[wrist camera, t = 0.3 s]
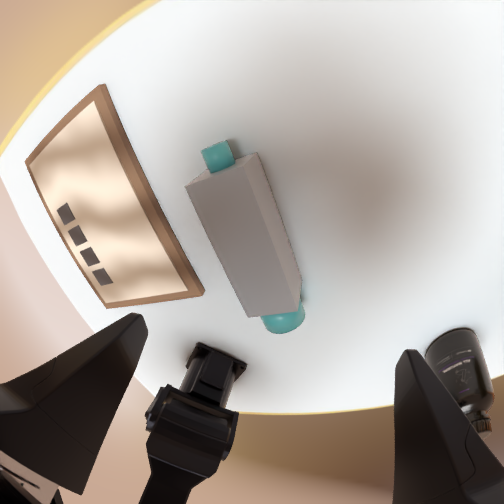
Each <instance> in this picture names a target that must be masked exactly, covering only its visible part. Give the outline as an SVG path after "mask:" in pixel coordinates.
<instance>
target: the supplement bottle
mask: <svg viewBox="0 0 504 504" xmlns="http://www.w3.org/2000/svg"><path fill="white" fill-rule="evenodd" d="M425 361H426V362H427V363H428V365H429V366H430V367H431V369H432V370H433V371H434V373H435V374H436V375H437V376H438V378H439V379H440V380H441V382H442V383H443V384H444V386H445V387H446V389H447V390H448V391H449V393H450V394H451V395H452V397H453V398H454V400H455V401H456V402H457V404H458V405H459V407H460V408H461V409H462V411H463V412H464V414H465V415H466V417H467V418H468V420H469V421H470V423H471V424H472V425H473V427H474V428H475V430H476V431H477V433H478V434H479V436H480V437H481V439H482V440H483V439H485V438H486V437H488V436H489V435H490V434H491V432H492V429H491V423H490V420H491V419H490V416H489V415H488V414H487V412H488V411H489V410H490V408H491V407H492V405H493V402H494V396H495V395H494V390H493V386H492V382H491V379H490V375H489V372H488V368H487V365H486V362H485V359H484V355H483V352H482V349H481V347H480V344H479V341H478V338H477V336H476V335H475V333H474V332H472V331H470V330H467V329H459V330H454V331H451V332H449V333H446V334H445V335H443V336H441V337H440V338H438V339H437V340H436V341H435V342H434V343H433V344H432V345H431V346H430V347H429V349H428V351H427V353H426V358H425Z"/></svg>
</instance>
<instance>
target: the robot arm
mask: <svg viewBox="0 0 504 504" xmlns="http://www.w3.org/2000/svg"><path fill="white" fill-rule="evenodd" d="M147 336H148V329H147V326H146V323H145V320H144V318H143V316H142V315H141V314H137V313H130V314H128V315H126V316H125V317H123V318H121V319H119V320H118V321H116V322H114V323H113V324H111V325H109V326H107V327H106V328H104V329H102V330H101V331H99V332H97V333H96V334H94V335H92V336H90V337H89V338H87V339H86V340H84V341H82V342H80V343H79V344H77V345H75V346H74V347H72V348H70V349H68V350H67V351H65V352H63V353H62V354H60V355H58V356H57V358H56V357H55V358H53V359H52V360H50V361H48V362H46V363H45V364H43V365H41V366H39V367H37V368H36V369H33V370H31V371H29V372H28V373H25V374H23V375H21V376H19V377H17V378H15V379H13V380H11V381H8V382H6V383H2V384H0V504H63V501H62V498H61V495H60V492H59V489H58V486H61V487H64V488H66V489H68V490H70V491H72V492H74V493H77V494H79V495H82V494H83V491H84V489H85V486H86V483H87V481H88V478H89V476H90V473H91V470H92V468H93V465H94V463H95V460H96V458H97V455H98V452H99V450H100V447H101V445H102V443H103V441H104V438H105V436H106V434H107V431H108V429H109V427H110V424H111V422H112V420H113V418H114V415H115V413H116V411H117V409H118V406H119V404H120V402H121V400H122V398H123V395H124V393H125V391H126V389H127V387H128V385H129V382H130V380H131V378H132V376H133V374H134V372H135V370H136V367H137V364H138V361H139V359H140V356H141V353H142V350H143V347H144V345H145V342H146V339H147ZM246 367H247V365H246V364H245V363H243V362H240V361H238V360H236V359H233V358H231V357H229V356H227V355H224V354H222V353H220V352H218V351H216V350H213V349H211V348H209V347H207V346H205V345H203V344H200V343H197V344H196V346H195V348H194V350H193V352H192V354H191V356H190V358H189V360H188V362H187V364H186V368H187V369H188V371H187V373H186V375H185V377H184V380H183V382H182V384H181V386H180V388H179V389H176V388H174V387H172V385H169V384H167V386H166V387H160V389H159V391H158V393H157V395H156V397H155V399H154V401H153V402H152V404H151V405H150V407H149V408H148V410H147V411H146V413H145V417H146V420H147V423H146V424H147V426H146V431H149V432H151V433H150V436H149V438H148V440H147V442H146V448H147V453H148V459H149V464H150V468H151V475H150V478H149V480H148V483H147V485H146V487H145V490H144V492H143V494H142V496H141V499H140V502H139V504H186V502H187V499H188V497H189V494H190V492H191V489H192V488H193V487H195V486H196V485H198V484H199V483H201V482H202V481H204V480H205V479H206V478H209V477H211V476H212V475H213V474H214V473H216V471H217V469H218V466H219V463H220V461H221V460H222V461H224V460H225V459H226V458H227V456H228V454H229V452H230V450H231V447H232V444H233V441H234V437H235V431H236V426H237V421H238V415H239V412H236V411H234V412H233V411H231V410H228V409H225V407H226V404H227V401H228V398H229V395H230V392H231V389H232V386H233V383H234V382H235V381H236V380H237V379H238V377H239V376H240V375H241V374H242V373H243V372H244V371H245V370H246ZM394 427H395V471H394V490H393V503H392V504H504V467H503V466H502V464H501V463H500V462H499V460H498V459H497V458H496V457H495V456H494V454H493V453H492V452H491V451H490V449H489V448H488V447H487V445H486V444H485V443H484V441H483V440H482V439H481V437H480V436H479V434H478V433H477V431H476V430H475V428H474V427H473V425H472V424H471V423H470V421H469V420H468V418H467V417H466V415H465V414H464V412H463V411H462V409H461V408H460V407H459V405H458V404H457V402H456V401H455V400H454V398H453V397H452V395H451V394H450V393H449V391H448V390H447V389H446V387H445V386H444V384H443V383H442V382H441V380H440V379H439V378H438V376H437V375H436V374H435V373H434V371H433V370H432V369H431V367H430V366H429V365H428V363H427V362H426V361H425V360H424V358H423V357H422V356H421V354H420V353H419V352H418V351H417V350H415V349H406V350H405V351H404V352H403V354H402V355H401V357H400V359H399V361H398V363H397V365H396V368H395V396H394Z"/></svg>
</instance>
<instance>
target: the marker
mask: <svg viewBox="0 0 504 504" xmlns="http://www.w3.org/2000/svg"><path fill="white" fill-rule="evenodd" d="M201 153H202V155H203V158H204V160H205V162H206V165H207V167H208V169H207V170H206V171H204V172H203V173H202V174H200V175H199V176H198V177H196V178H195V179H194V180H193V181H191V182H190V183H189V184H187V185H186V186H185V188H186V190H187V193H188V195H189V197H190V199H191V201H192V203H193V206H194V208H195V210H196V212H197V214H198V216H199V218H200V221H201V223H202V225H203V227H204V229H205V231H206V233H207V235H208V237H209V240H210V242H211V244H212V246H213V248H214V250H215V252H216V254H217V256H218V258H219V260H220V262H221V264H222V266H223V268H224V270H225V272H226V275H227V277H228V279H229V281H230V283H231V285H232V287H233V289H234V291H235V293H236V295H237V297H238V299H239V301H240V303H241V305H242V307H243V308H244V310H245V312H246V314H247V316H248V317H257V316H261V318H262V321H263V323H264V325H265V327H266V329H267V330H268V331H270V332H272V333H276V334H283V333H287V332H290V331H292V330H294V329H296V328H297V327H298V326H300V324H301V323H302V322H303V320H304V318H305V311H304V308H303V305H302V302H301V299H300V292H301V284H302V278H301V275H300V272H299V269H298V266H297V263H296V260H295V257H294V254H293V251H292V248H291V245H290V242H289V239H288V236H287V233H286V230H285V228H284V225H283V222H282V219H281V216H280V213H279V211H278V208H277V205H276V202H275V200H274V197H273V194H272V191H271V189H270V186H269V183H268V180H267V178H266V175H265V172H264V170H263V167H262V164H261V162H260V159H259V156H258V154H257V152H256V153H253V154H250V155H247V156H244V157H241V158H238V159H234V157H233V155H232V152H231V150H230V147H229V145H228V142H227V140H225V141H222V142H220V143H217V144H214V145H212V146H210V147H207V148H205V149H203V150H201Z"/></svg>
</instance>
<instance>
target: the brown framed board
mask: <svg viewBox="0 0 504 504" xmlns="http://www.w3.org/2000/svg"><path fill="white" fill-rule="evenodd" d="M25 164H26V166H27V169H28V171H29V173H30V176H31V178H32V181H33V183H34V185H35V187H36V190H37V192H38V194H39V196H40V198H41V200H42V202H43V204H44V206H45V208H46V210H47V212H48V214H49V216H50V218H51V220H52V222H53V224H54V226H55V228H56V230H57V232H58V233H59V235H60V237H61V239H62V240H63V242H64V244H65V246H66V247H67V249H68V251H69V253H70V254H71V256H72V258H73V259H74V261H75V262H76V264H77V266H78V267H79V269H80V270H81V272H82V274H83V275H84V277H85V278H86V280H87V281H88V283H89V284H90V286H91V287H92V289H93V290H94V292H95V293H96V295H97V296H98V297H99V299H100V300H101V302H102V303H103V304H104V306H105V307H106V309H109V308H118V307H126V306H134V305H142V304H150V303H157V302H164V301H172V300H179V299H186V298H192V297H199V296H203V294H204V292H205V290H204V288H203V286H202V284H201V283H200V281H199V279H198V277H197V275H196V274H195V272H194V270H193V268H192V266H191V265H190V263H189V261H188V259H187V257H186V255H185V254H184V252H183V250H182V248H181V246H180V244H179V242H178V240H177V239H176V237H175V235H174V233H173V231H172V229H171V227H170V225H169V223H168V221H167V219H166V217H165V215H164V213H163V211H162V209H161V207H160V206H159V203H158V201H157V199H156V197H155V195H154V193H153V191H152V189H151V187H150V185H149V183H148V181H147V179H146V177H145V175H144V173H143V171H142V168H141V166H140V164H139V162H138V160H137V158H136V155H135V153H134V151H133V149H132V147H131V144H130V142H129V140H128V138H127V135H126V133H125V131H124V129H123V126H122V124H121V122H120V119H119V117H118V115H117V112H116V110H115V107H114V105H113V102H112V100H111V98H110V95H109V93H108V90H107V88H106V85H105V84H101V85H98V86H97V87H96V88H95V89H93V90H92V91H91V92H90V93H89V94H88V95H87V96H85V97H84V98H83V99H82V100H81V101H80V102H79V103H78V104H77V105H76V106H75V107H74V108H73V109H72V110H70V111H69V112H68V113H67V114H66V115H65V116H64V117H63V118H62V119H61V120H60V122H59V123H58V124H57V125H56V126H55V127H54V128H53V129H52V130H51V131H50V132H49V133H48V134H47V135H46V137H45V138H44V139H43V140H42V141H41V142H40V143H39V145H38V146H37V147H36V148H35V149H34V151H33V152H32V153H31V154H30V155H29V157H28V158H27V159H26V160H25Z"/></svg>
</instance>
